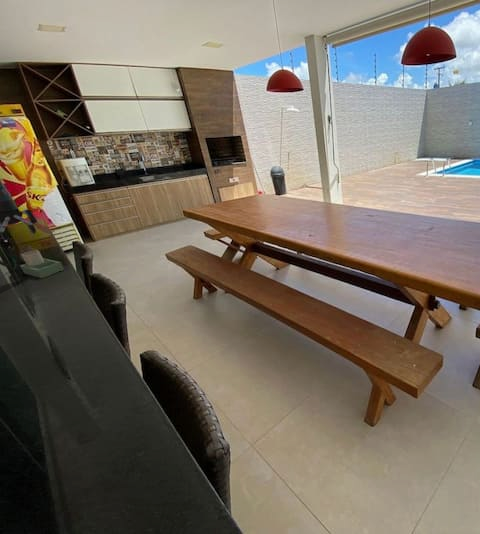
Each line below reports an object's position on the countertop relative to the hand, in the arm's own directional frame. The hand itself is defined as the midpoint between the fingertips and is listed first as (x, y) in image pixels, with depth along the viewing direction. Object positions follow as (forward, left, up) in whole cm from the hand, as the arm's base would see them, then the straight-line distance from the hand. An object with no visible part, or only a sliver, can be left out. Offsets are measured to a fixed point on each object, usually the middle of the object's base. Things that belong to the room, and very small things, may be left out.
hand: (21, 236), depth 134 cm
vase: (+4, +16, -17) cm, 24 cm away
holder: (0, -4, -17) cm, 17 cm away
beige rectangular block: (0, 0, -17) cm, 17 cm away
